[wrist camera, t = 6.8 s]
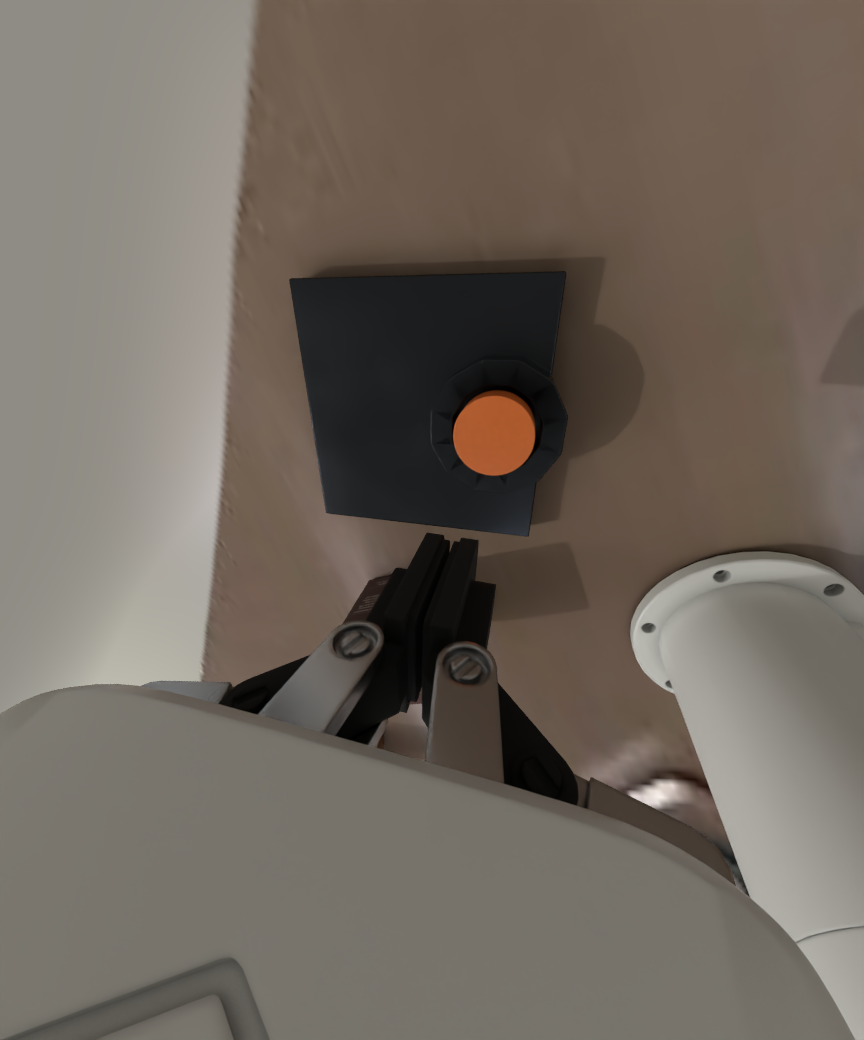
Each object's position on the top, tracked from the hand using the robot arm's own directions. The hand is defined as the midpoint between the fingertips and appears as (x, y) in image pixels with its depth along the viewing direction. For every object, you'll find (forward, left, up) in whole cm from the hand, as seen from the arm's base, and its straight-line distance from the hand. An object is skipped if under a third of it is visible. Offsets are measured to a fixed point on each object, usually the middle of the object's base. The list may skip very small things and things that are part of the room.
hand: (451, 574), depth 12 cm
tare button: (0, -2, -10) cm, 10 cm away
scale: (+4, -2, -13) cm, 13 cm away
